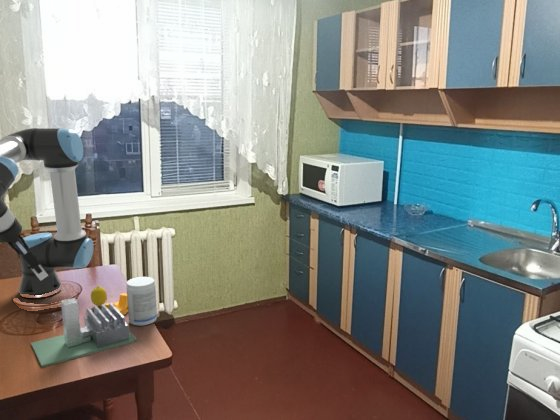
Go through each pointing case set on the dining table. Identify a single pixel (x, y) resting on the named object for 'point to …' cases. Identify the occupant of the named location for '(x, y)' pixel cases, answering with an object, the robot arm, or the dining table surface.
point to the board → (67, 349)
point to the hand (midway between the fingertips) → (43, 277)
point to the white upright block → (72, 323)
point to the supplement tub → (141, 301)
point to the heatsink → (105, 326)
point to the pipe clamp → (121, 304)
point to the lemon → (98, 296)
